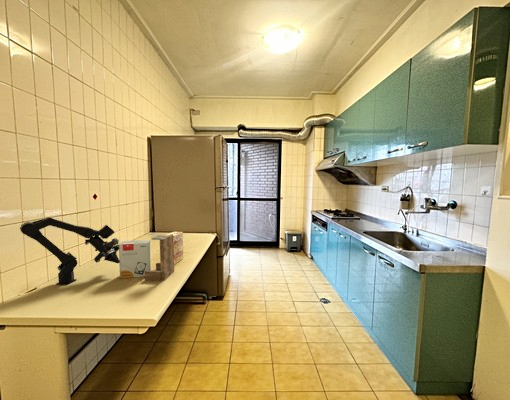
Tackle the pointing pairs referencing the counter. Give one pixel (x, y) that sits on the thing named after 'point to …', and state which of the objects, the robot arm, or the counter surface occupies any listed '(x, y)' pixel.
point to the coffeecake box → (177, 246)
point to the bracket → (163, 259)
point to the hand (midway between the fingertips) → (119, 262)
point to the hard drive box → (134, 258)
